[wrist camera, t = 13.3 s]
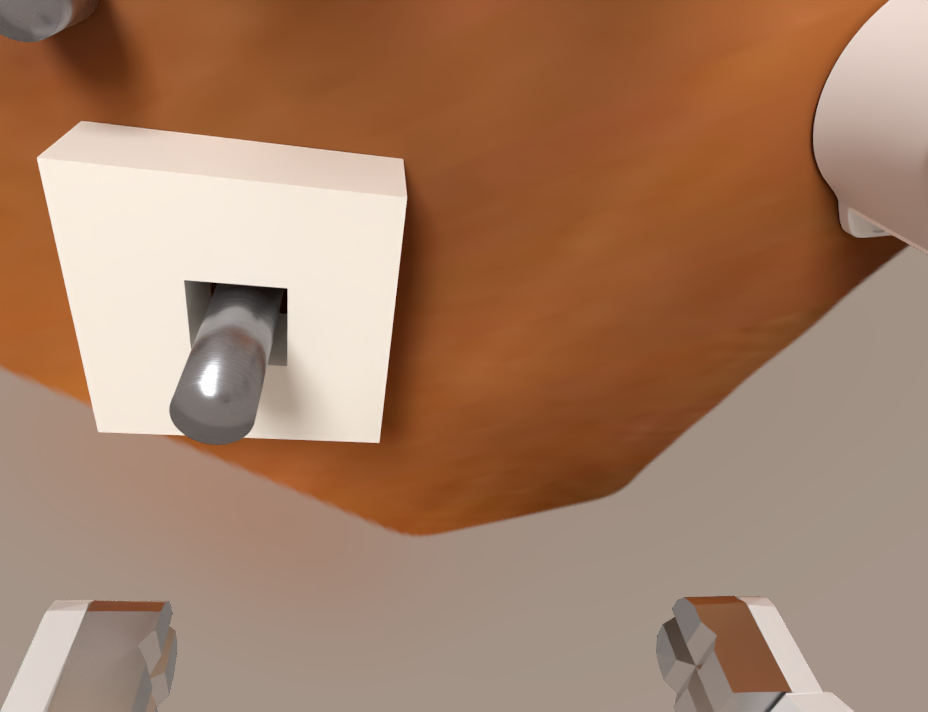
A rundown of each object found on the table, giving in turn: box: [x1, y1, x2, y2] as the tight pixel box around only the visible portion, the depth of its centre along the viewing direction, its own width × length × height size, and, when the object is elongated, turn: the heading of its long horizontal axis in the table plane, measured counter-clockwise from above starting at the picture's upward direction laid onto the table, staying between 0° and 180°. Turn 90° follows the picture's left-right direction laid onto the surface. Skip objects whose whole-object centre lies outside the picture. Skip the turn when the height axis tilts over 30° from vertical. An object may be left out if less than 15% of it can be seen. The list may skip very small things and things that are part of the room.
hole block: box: [37, 121, 407, 443], centre depth 40 cm, size 18×18×6 cm
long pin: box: [169, 283, 284, 445], centre depth 37 cm, size 4×4×14 cm
